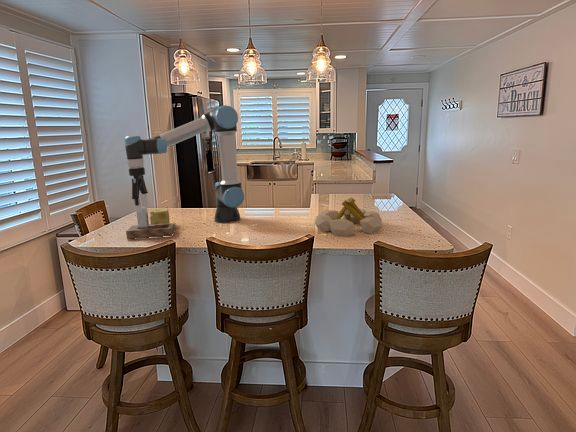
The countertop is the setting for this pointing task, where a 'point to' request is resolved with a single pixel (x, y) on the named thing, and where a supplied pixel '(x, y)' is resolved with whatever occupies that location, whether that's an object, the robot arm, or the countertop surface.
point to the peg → (143, 218)
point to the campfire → (348, 220)
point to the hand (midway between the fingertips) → (141, 208)
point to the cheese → (159, 216)
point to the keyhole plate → (151, 231)
